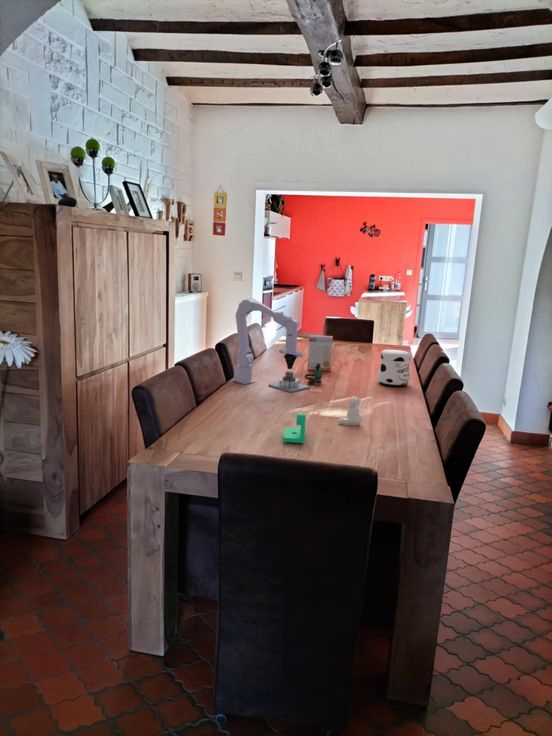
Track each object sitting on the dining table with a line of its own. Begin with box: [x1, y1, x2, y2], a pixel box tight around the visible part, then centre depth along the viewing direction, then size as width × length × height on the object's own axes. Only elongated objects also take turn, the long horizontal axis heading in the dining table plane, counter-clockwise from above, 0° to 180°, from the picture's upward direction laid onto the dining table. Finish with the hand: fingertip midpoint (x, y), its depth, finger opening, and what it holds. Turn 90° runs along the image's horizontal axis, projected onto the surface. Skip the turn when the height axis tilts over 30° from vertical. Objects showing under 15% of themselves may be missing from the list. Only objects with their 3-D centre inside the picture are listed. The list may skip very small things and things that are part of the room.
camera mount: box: [283, 413, 307, 444], centre depth 203 cm, size 12×8×10 cm, turn 175°
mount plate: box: [268, 381, 310, 394], centre depth 280 cm, size 16×14×1 cm
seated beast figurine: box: [337, 396, 363, 427], centre depth 224 cm, size 10×9×12 cm
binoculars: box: [304, 364, 324, 386], centre depth 290 cm, size 9×11×10 cm
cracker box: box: [307, 334, 334, 372], centre depth 321 cm, size 14×6×21 cm, turn 84°
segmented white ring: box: [278, 377, 300, 388], centre depth 279 cm, size 10×10×3 cm
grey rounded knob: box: [282, 370, 296, 381], centre depth 279 cm, size 7×7×7 cm
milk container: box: [377, 349, 411, 387], centre depth 295 cm, size 17×17×18 cm
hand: (289, 368), depth 278 cm, fingers closed
